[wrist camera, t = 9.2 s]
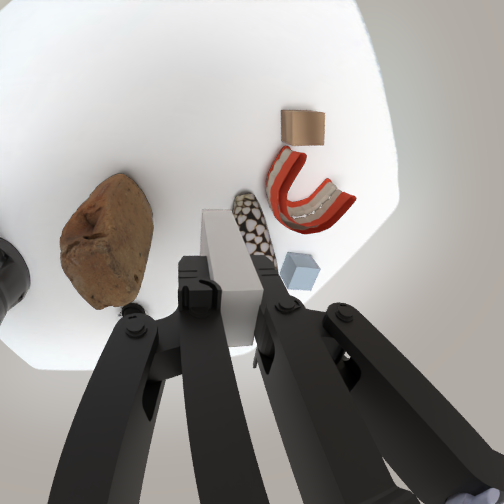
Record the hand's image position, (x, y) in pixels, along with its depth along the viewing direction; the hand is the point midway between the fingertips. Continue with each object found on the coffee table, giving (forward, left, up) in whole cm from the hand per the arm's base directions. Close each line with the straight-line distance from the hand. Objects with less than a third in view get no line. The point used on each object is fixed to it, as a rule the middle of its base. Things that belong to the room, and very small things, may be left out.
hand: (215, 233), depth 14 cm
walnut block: (+15, +5, -29) cm, 33 cm away
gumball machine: (-12, -32, -29) cm, 45 cm away
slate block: (+20, -21, -29) cm, 41 cm away
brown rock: (-11, -9, -29) cm, 32 cm away
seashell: (+8, -16, -29) cm, 34 cm away
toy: (+16, -6, -29) cm, 33 cm away
